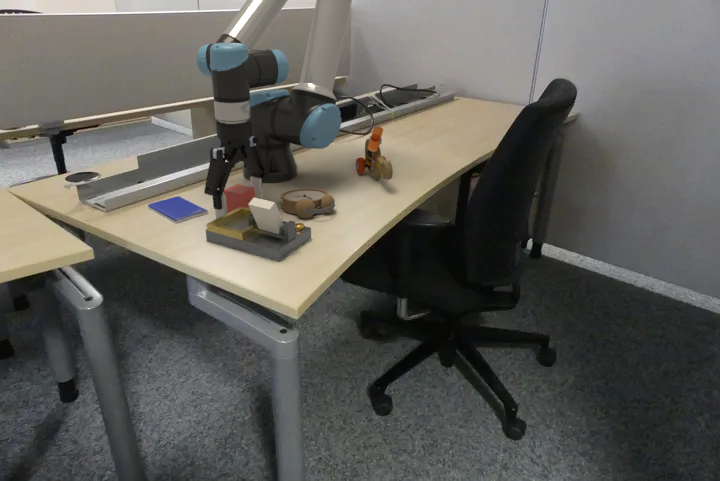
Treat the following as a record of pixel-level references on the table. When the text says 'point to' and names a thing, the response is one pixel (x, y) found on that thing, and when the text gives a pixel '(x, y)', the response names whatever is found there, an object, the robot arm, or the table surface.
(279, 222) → the toggle
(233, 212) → the panel
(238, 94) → the robot arm
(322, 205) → the alarm clock
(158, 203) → the blue book
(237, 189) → the red toy cube
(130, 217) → the table surface
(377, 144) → the wheeled toy
